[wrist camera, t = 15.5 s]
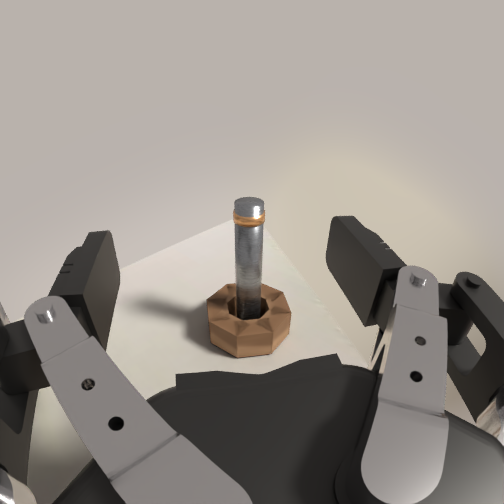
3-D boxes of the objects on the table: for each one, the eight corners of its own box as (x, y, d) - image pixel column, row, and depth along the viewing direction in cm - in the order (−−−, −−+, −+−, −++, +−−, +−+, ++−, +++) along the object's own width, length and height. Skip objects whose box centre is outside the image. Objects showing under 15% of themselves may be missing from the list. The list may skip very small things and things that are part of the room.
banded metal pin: (237, 338, 32) (235, 209, 25) (234, 321, 34) (231, 197, 27) (262, 335, 32) (268, 207, 25) (258, 318, 34) (261, 195, 27)
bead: (212, 360, 29) (210, 339, 28) (207, 306, 36) (205, 285, 34) (294, 350, 30) (298, 329, 29) (276, 300, 37) (277, 279, 36)
